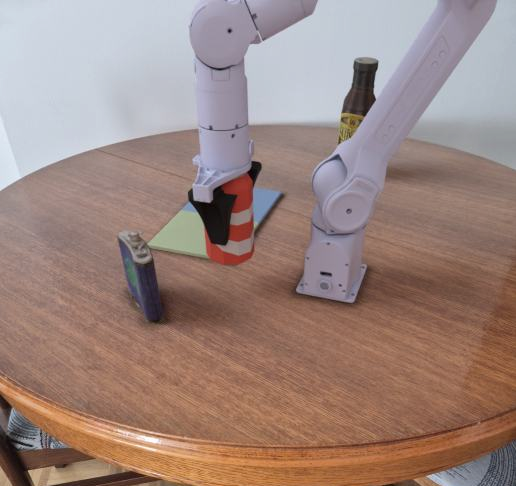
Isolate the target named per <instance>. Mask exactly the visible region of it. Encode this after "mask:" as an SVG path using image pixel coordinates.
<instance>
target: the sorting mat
mask: <svg viewBox="0 0 516 486" xmlns="http://www.w3.org/2000/svg"><path fill="white" fill-rule="evenodd" d="M282 193H283V192H282V191H280V190H274V189H267V188H260V187H254V188H253V213H254V233H255V232H256V230H257V229H258V228H259V227H260V225H261V224H262V222H263V221H264V219H265V218H266V217H267V216H268V214H269V212H270V211H271V210H272V208H273V207H274V206H275V204H276V202H278V201H279V199H280V197H281V196H282ZM147 244H148V246H149V248H150V249H153V250H159V251H163V252H169V253H175V254H181V255H185V256H190V257H195V258H196V257H197V258H202V259H207V260H211V259H210V258H209V256H208V255H207V253H206V242H205V231H204V224H203V221H202V219H201V217H200V215H199V214H198V212H197V211H196V209H195V208H194V206H193V205H192V204H191V203H190V202H189V201H188V202H187V203H186V204H185V205H184V206H183V207H182V208H181V209H180V210H179V211H178V212H177V213H176V214H175V215H174V216H173V218H171V219H170V220H169V221H168V223H166V224H165V225H164V226H163V227H162V229H160V231H158V232H157V233H156V235H154V236H153V237H152V238H151V240H149V241H148V242H147Z"/></svg>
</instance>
